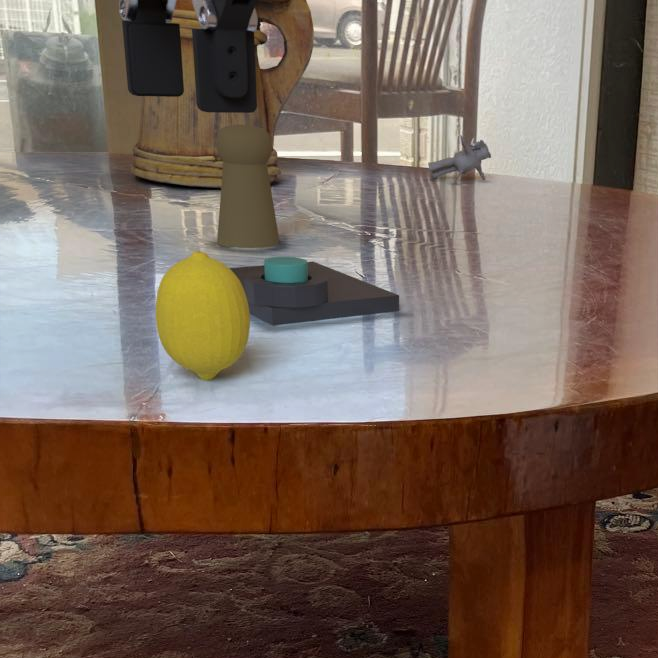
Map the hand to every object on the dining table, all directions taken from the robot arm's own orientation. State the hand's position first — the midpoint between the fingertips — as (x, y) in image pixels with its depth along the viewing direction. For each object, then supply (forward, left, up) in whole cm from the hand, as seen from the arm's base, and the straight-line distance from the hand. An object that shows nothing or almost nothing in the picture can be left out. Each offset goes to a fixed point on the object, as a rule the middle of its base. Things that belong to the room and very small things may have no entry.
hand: (190, 103), depth 63 cm
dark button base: (+15, +17, -16) cm, 28 cm away
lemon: (0, 0, -16) cm, 16 cm away
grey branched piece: (+71, +73, -16) cm, 103 cm away
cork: (+22, +40, -16) cm, 48 cm away
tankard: (+38, +80, -16) cm, 90 cm away
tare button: (+12, +13, -14) cm, 22 cm away
